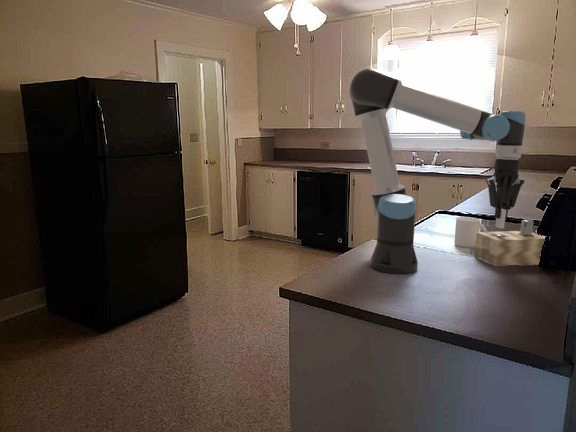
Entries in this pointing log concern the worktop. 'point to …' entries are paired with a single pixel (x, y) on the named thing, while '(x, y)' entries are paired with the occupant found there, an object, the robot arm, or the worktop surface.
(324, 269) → the worktop surface
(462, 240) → the mug
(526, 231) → the peg
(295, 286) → the worktop surface
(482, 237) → the socket block
